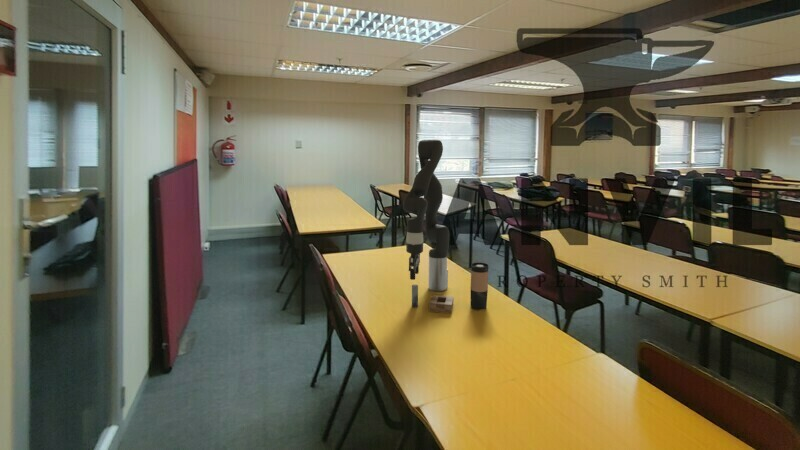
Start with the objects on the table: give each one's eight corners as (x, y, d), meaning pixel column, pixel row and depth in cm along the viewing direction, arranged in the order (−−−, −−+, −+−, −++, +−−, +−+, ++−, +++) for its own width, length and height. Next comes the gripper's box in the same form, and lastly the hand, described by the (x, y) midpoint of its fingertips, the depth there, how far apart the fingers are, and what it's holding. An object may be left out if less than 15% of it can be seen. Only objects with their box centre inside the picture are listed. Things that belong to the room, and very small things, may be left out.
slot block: (432, 303, 192) (432, 295, 192) (453, 304, 190) (453, 296, 190) (428, 311, 183) (429, 303, 182) (451, 313, 181) (451, 304, 180)
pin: (414, 304, 191) (414, 284, 189) (419, 306, 189) (419, 285, 187) (410, 306, 189) (410, 285, 187) (414, 307, 187) (415, 287, 185)
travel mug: (488, 305, 189) (490, 263, 185) (484, 311, 183) (486, 268, 179) (472, 302, 193) (473, 261, 189) (467, 308, 186) (469, 266, 182)
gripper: (409, 237, 191) (409, 271, 194) (403, 244, 177) (403, 280, 180) (425, 238, 189) (425, 272, 192) (420, 245, 175) (419, 282, 178)
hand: (414, 276), depth 186 cm, fingers open, 8 cm apart
